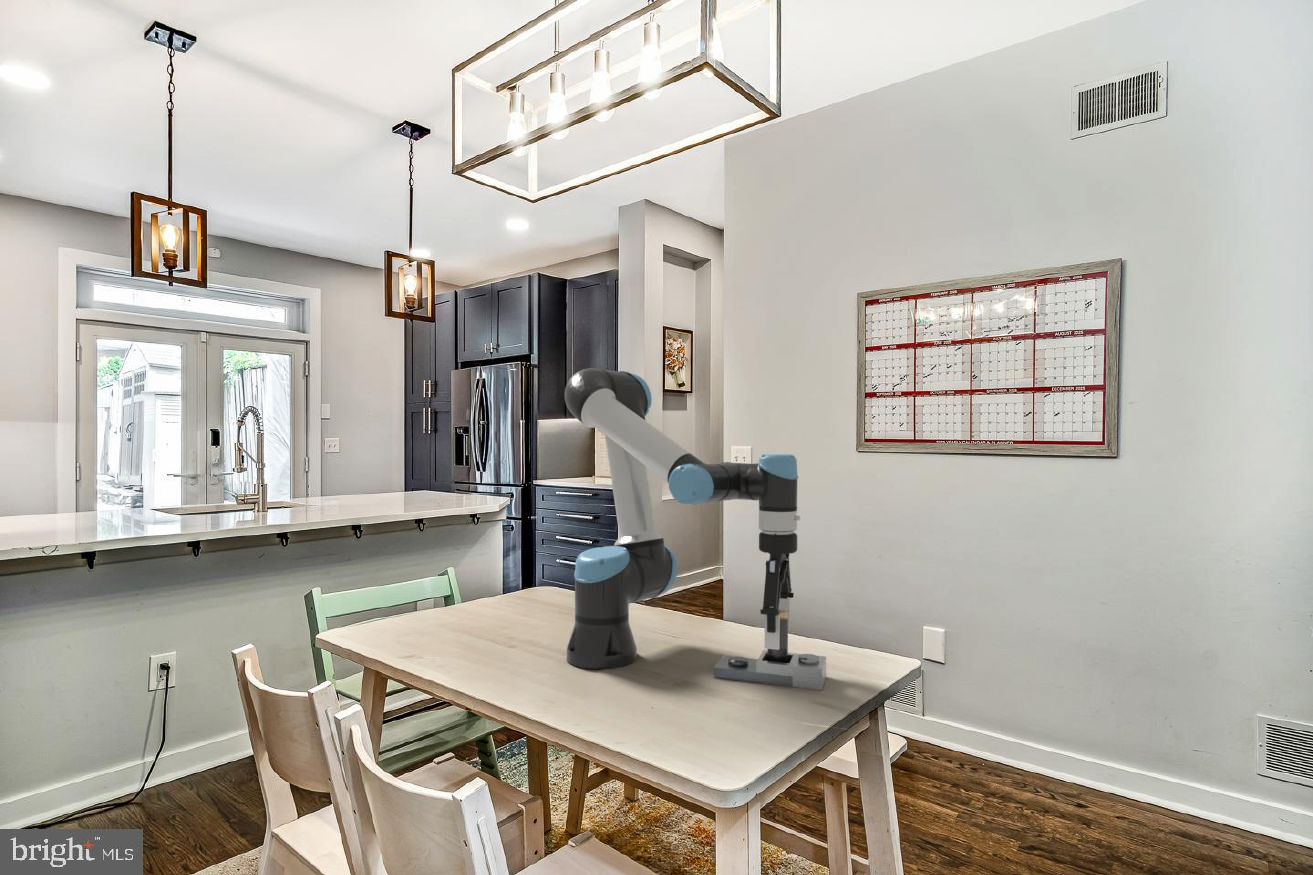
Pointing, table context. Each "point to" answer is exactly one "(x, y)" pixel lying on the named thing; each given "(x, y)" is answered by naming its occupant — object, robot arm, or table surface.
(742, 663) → the metal block with stud
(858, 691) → the table surface
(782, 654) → the pin
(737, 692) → the table surface
